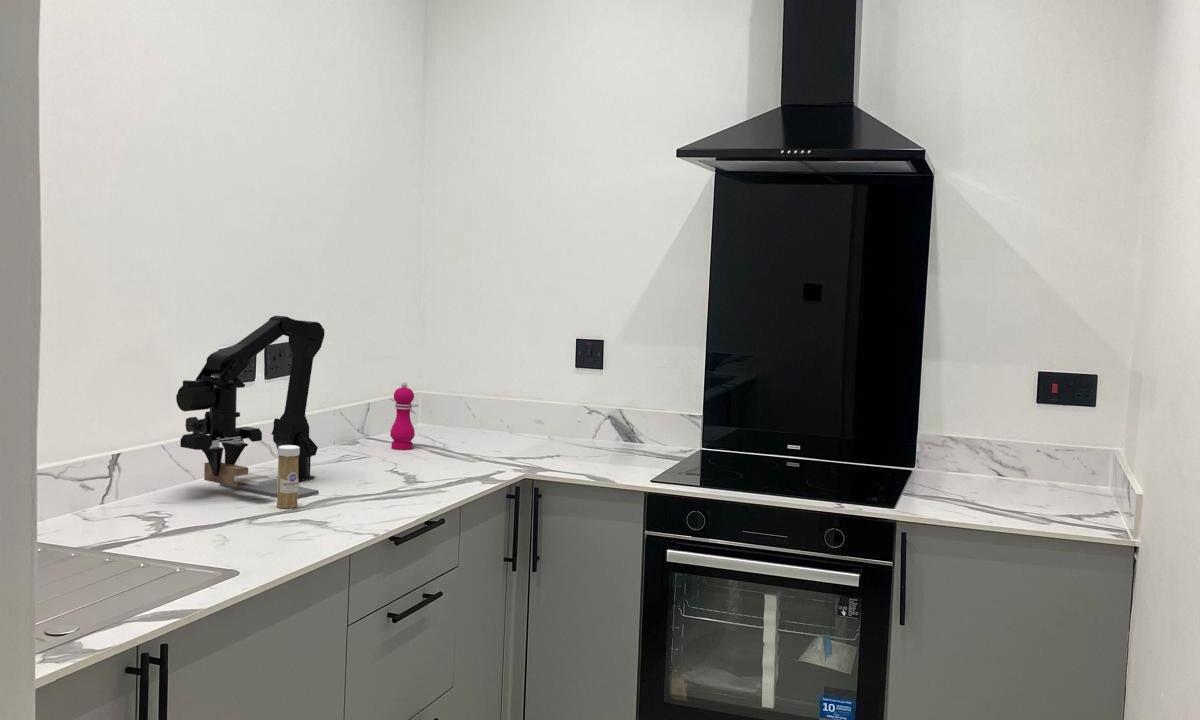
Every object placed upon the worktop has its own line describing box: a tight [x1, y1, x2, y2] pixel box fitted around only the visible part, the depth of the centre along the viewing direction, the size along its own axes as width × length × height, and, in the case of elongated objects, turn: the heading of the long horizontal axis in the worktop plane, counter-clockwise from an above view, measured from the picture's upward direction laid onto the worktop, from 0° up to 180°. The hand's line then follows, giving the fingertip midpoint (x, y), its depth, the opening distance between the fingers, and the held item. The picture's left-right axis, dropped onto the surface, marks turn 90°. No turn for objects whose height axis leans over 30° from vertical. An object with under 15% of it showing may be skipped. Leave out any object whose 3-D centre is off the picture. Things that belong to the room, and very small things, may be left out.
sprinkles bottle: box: [276, 445, 300, 509], centre depth 218 cm, size 5×5×13 cm
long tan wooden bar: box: [203, 461, 278, 487], centre depth 225 cm, size 19×5×4 cm, turn 61°
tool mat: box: [219, 483, 320, 499], centre depth 233 cm, size 9×23×1 cm, turn 61°
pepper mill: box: [389, 382, 416, 451], centre depth 297 cm, size 7×7×20 cm
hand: (221, 474), depth 228 cm, fingers closed on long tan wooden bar, 3 cm apart
